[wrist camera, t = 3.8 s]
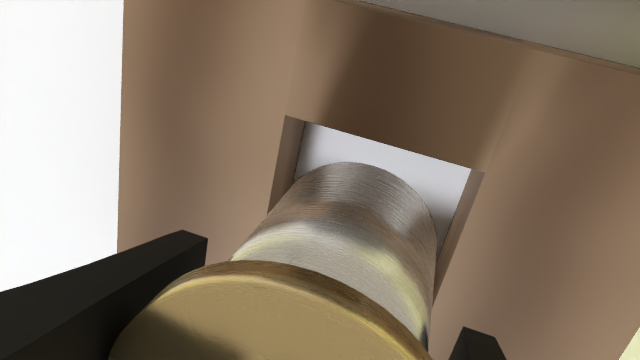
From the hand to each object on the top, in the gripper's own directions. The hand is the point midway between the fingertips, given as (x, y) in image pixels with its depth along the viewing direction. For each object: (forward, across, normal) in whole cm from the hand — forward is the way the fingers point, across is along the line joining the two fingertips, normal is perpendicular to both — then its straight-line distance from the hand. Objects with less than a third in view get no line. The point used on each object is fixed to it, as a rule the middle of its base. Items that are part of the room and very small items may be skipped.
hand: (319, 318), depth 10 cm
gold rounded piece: (+3, 0, 0) cm, 3 cm away
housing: (+7, 0, 0) cm, 7 cm away
